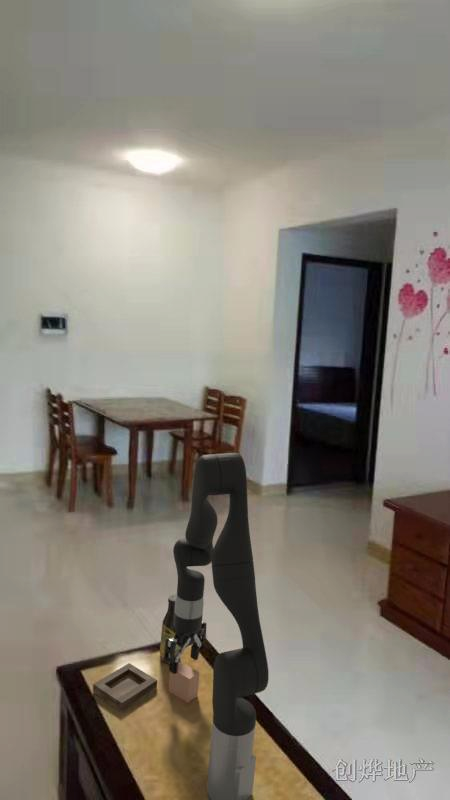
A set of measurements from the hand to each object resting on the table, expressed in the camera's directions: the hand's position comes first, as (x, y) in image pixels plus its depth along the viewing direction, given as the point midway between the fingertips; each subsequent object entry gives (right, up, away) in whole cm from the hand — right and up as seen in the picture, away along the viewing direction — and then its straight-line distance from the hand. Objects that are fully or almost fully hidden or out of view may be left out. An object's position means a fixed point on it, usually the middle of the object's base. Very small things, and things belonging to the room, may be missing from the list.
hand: (184, 665), depth 164 cm
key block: (0, -8, +1) cm, 8 cm away
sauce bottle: (-5, -5, +16) cm, 18 cm away
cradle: (-16, -7, 0) cm, 17 cm away
